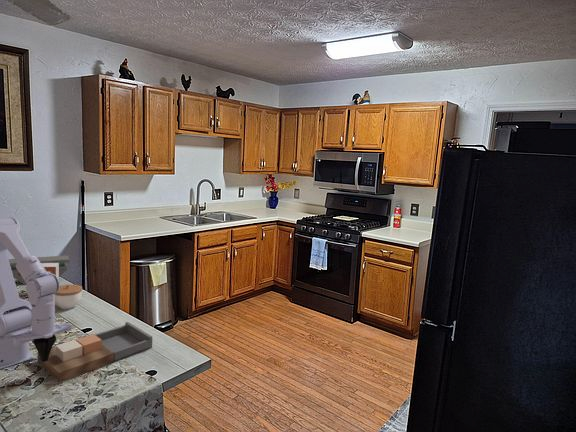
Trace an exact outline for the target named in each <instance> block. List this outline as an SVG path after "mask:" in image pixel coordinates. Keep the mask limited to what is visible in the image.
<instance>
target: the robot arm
mask: <svg viewBox="0 0 576 432" xmlns="http://www.w3.org/2000/svg"><path fill="white" fill-rule="evenodd" d="M21 231H22V229H21V225H20V222H19V221H18V219H17V218H15V217H13V216H12V217H8V218H0V370H1V369H5V368H8V367H11V366H13V365H18V364H21V363H24V362H27V361H30V360H33V359H35V355H34V354H32V353H31V352H30V342H32V343H33V345H34V347H35V348H36V350H37V352H38V353H39V356H40V360H41V361H42V362H45V361H48V358H49V354H50V351H51V349H52V347H54V345H55V343H56V342H57V336H56V335H57V334H61V333H64V332H71V331H72V324H71V322H70V323H69V322H66V323H58V324H59V325H55V323H56V314H55V313H56V308H55V307H56V304H55V294H54V293H56V292H58V290H59V286H60V280H59V281H58V279H57V277H56V275H54V274H51V273H50V272H49V271H48V272H47V271H46V270H45V268H44V267H43V265H42V264H41V263H40V261H39V260H38V258H37V257H38V256H37V255H36V256H35V255H31V253H30V252H29V250H28V248H27V246H26V245H25V243H24V241H23V239H22V237H21ZM7 251H8V252H9V253H10V254H11V256H12V257H13V259H16V260H17V264H16V268H17V270H18V271H19V273H20V274H21V276H22V277H23V279H24V280H25V282H26V283H27V285H26V286H25V290H26V291H25V292H26V294H27V297H28V300H25V299H23V298H20V295H19V291H18V288H17V285H16V281H15V278H14V277H13V274H12V270H11V267H10V263H9V260H8V259H9V257H8V253H7ZM29 330H30V331H29Z"/></svg>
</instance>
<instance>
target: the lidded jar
mask: <svg viewBox="0 0 576 432" xmlns="http://www.w3.org/2000/svg"><path fill="white" fill-rule="evenodd" d="M54 294H55V306H57V307H59V309H61V310H70V309H71V310H72V309H73V308H76V307H77V305H79V303H80V302H81V299H82V295H83V286H82V285H80V284H63V285H59V290H58V292H56V293H54Z"/></svg>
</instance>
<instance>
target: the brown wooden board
mask: <svg viewBox="0 0 576 432" xmlns="http://www.w3.org/2000/svg"><path fill="white" fill-rule="evenodd" d="M74 340H75V341H76V339H74ZM36 358H37V360H36V361H37V362H38V363H39V365H41V366H42V367H43V368H44V369H45V370H46V371H47V372H48V374H50V375H51V376H52V377H53V378H54V379H55V380H56V381H57V382H58V383H62V382H65V381H67V380H69V379H70V380H71V379H73V378H75V377H77V376H80V375H83V374H85V373H88V372H91V371H94V370H96V369H99V368H102V367H104V366H107V365H110V364H113V363H115V362H114V353H113V352H111V351H110V350H109V349H107V348H106V347H105V346H103V345H102V349H99V350H96V351H93V352H90V353H87V354H83V353H82V355H81V356H78V357H76V358H73V359H70V360H67V361H64V362H63V361H62V360H61V359H60V358H59V357H58V356H57V355H56V346H53V347H52V349H51V351H50V354H49V358H48V361H45V362H42V361H41V360H40V356H39V353H38V351H37V352H36ZM109 363H110V364H109ZM106 364H107V365H106ZM103 365H104V366H103ZM101 366H102V367H101ZM98 367H99V368H98Z"/></svg>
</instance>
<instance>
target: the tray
mask: <svg viewBox="0 0 576 432" xmlns="http://www.w3.org/2000/svg"><path fill="white" fill-rule="evenodd" d="M94 335H96V336H97V337H99V338H100V339H101V340H102V345H103V346H105V347H106V348H107V349H109V350H110V351H111V352H113V353H114V362H113V363H115V362H117V361H119V360H123V359H126V358H128V357H130V356H134V355H136V354H139V353H141V352H143V351H144V352H145V351H146V350H149V349H152V348H153V336H152V335H151V334H149V333H147V332H145V331H144V330H142V329H141V328H139V327H138V326H136V325H133V323H131V322H129V321H126V322H125V323H124V325H122V326H118V327H115V328H111V329H109V330H105V331H102V332H101V331H100V332H99V333H96V334H95V333H94Z"/></svg>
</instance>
